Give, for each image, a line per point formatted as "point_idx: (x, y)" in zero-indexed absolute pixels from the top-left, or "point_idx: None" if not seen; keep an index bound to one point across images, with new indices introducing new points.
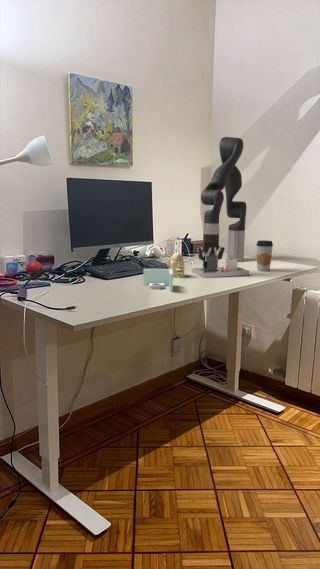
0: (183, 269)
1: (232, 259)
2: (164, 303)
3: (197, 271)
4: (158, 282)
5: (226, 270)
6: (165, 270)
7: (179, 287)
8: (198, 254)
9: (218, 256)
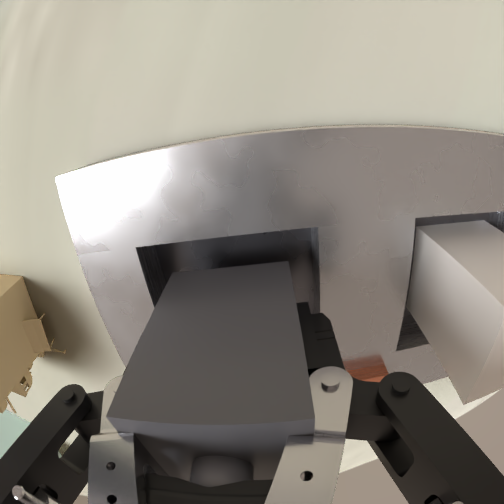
0: (21, 394)
1: (497, 389)
2: (80, 493)
3: (105, 314)
4: (9, 424)
5: None
6: None
7: None
8: (27, 441)
9: (396, 416)
